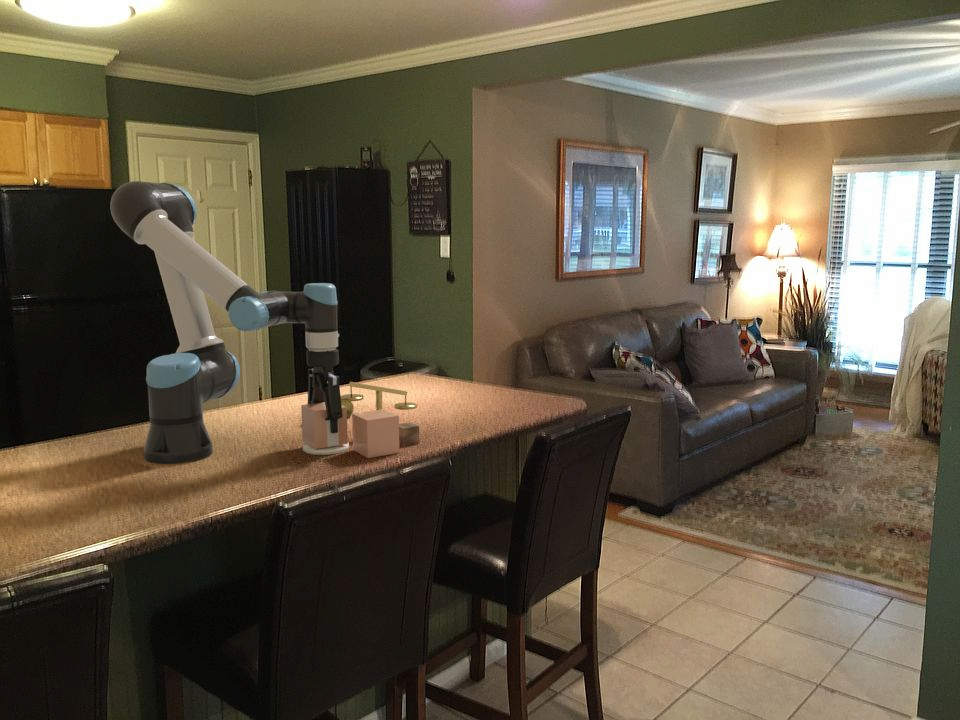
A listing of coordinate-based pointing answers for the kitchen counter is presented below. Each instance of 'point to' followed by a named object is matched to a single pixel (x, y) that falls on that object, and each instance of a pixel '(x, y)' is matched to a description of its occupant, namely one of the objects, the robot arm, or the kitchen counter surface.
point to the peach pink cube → (320, 425)
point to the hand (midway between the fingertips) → (325, 441)
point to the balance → (378, 396)
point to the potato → (348, 405)
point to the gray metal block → (408, 434)
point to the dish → (325, 449)
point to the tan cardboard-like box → (375, 433)
